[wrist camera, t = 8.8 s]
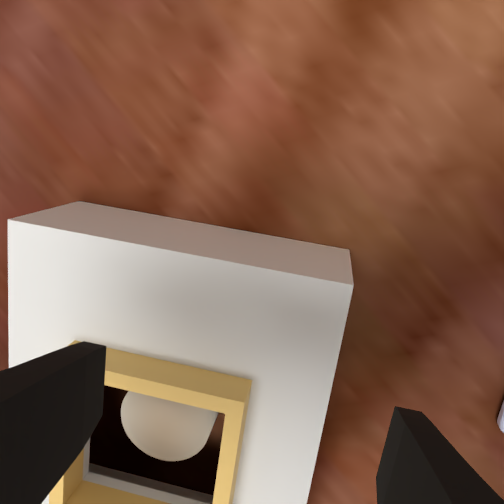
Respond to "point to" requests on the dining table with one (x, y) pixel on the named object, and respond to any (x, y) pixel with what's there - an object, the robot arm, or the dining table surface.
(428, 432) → the robot arm
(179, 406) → the cylinder
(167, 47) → the dining table surface
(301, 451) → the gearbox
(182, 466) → the dining table surface
